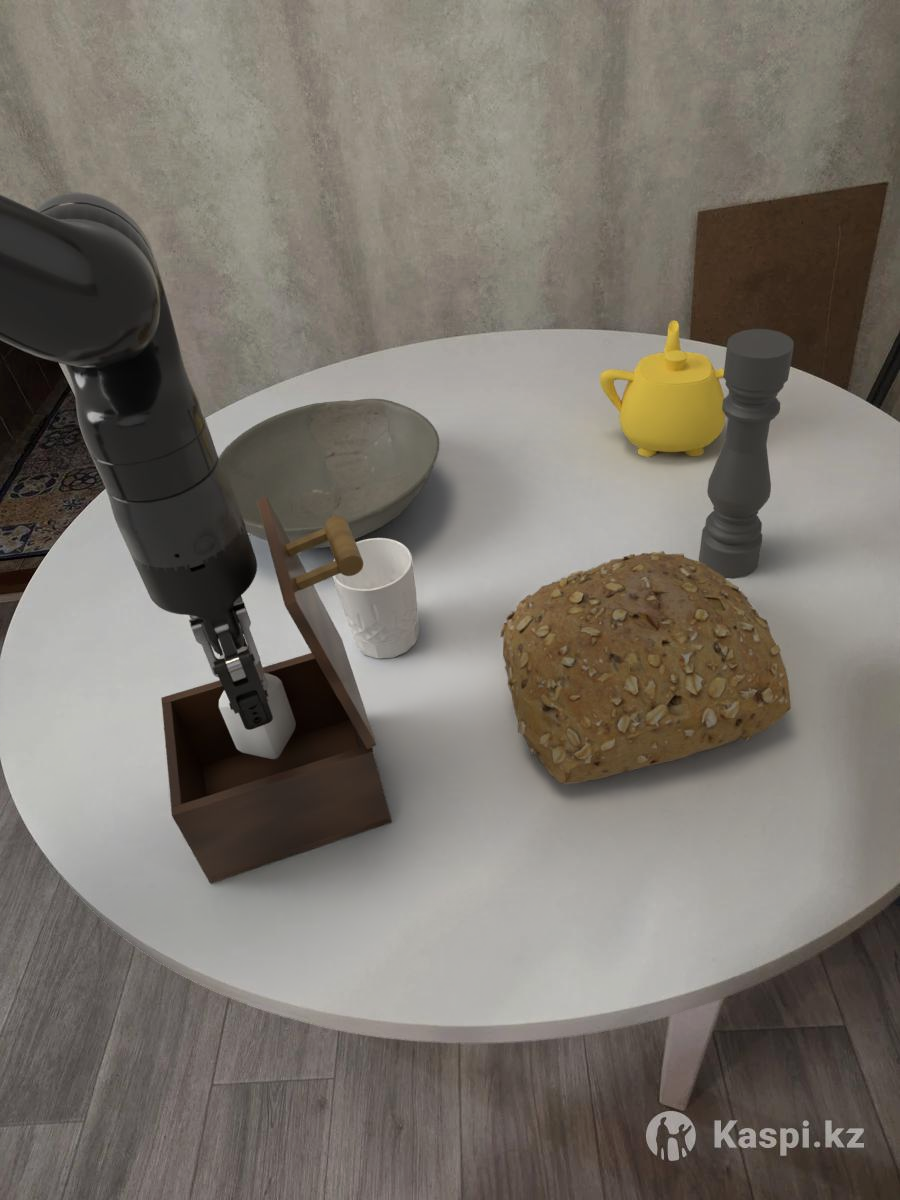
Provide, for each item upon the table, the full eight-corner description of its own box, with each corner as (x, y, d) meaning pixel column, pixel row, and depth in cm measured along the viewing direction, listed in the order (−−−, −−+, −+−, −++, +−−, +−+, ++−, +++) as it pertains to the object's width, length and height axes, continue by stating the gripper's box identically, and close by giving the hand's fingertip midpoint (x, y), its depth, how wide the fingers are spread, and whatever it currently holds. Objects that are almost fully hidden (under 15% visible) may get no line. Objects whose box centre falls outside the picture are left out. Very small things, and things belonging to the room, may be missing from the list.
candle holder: (722, 534, 97) (752, 321, 80) (770, 558, 93) (812, 340, 76) (686, 560, 94) (709, 345, 77) (734, 586, 90) (768, 367, 73)
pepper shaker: (258, 717, 74) (227, 638, 67) (300, 726, 72) (272, 646, 66) (235, 754, 71) (201, 675, 64) (278, 763, 70) (248, 684, 63)
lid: (284, 605, 55) (365, 571, 55) (256, 500, 64) (326, 471, 65) (367, 749, 66) (434, 720, 67) (333, 642, 76) (392, 617, 76)
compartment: (209, 883, 71) (171, 815, 64) (195, 767, 80) (161, 697, 73) (392, 822, 73) (373, 751, 67) (358, 716, 82) (338, 644, 76)
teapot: (751, 434, 110) (764, 348, 103) (675, 481, 105) (683, 394, 97) (667, 397, 119) (673, 315, 111) (593, 439, 113) (594, 356, 105)
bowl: (484, 469, 111) (479, 413, 105) (373, 609, 93) (360, 550, 88) (310, 435, 122) (297, 382, 116) (181, 554, 104) (158, 499, 99)
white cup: (437, 619, 91) (425, 546, 84) (403, 671, 86) (388, 598, 79) (372, 603, 94) (356, 531, 87) (336, 653, 89) (315, 580, 82)
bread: (696, 587, 91) (707, 493, 83) (810, 739, 75) (838, 642, 67) (474, 646, 88) (463, 555, 80) (545, 818, 72) (541, 726, 64)
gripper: (114, 489, 61) (188, 656, 72) (141, 612, 51) (222, 783, 62) (218, 458, 63) (274, 625, 74) (265, 570, 52) (321, 745, 64)
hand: (250, 697), depth 68 cm, fingers closed on pepper shaker, 5 cm apart
